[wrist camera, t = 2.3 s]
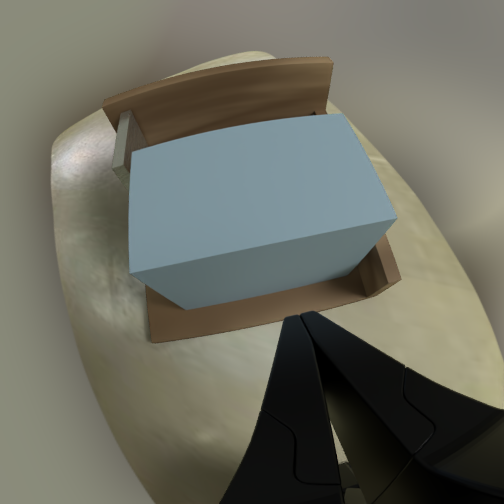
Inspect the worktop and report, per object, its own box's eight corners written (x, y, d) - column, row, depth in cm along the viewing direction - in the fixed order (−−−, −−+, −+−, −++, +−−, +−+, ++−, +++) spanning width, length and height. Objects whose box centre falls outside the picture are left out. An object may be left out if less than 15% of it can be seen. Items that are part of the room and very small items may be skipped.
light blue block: (347, 275, 20) (397, 218, 11) (185, 310, 19) (128, 273, 11) (320, 195, 22) (342, 113, 14) (175, 224, 22) (131, 152, 14)
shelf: (375, 296, 20) (444, 249, 11) (154, 343, 19) (77, 327, 10) (315, 138, 25) (328, 56, 16) (144, 172, 25) (104, 99, 16)
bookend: (164, 224, 22) (123, 164, 15) (142, 229, 22) (95, 174, 14) (162, 173, 24) (130, 109, 17) (142, 178, 24) (106, 118, 16)
